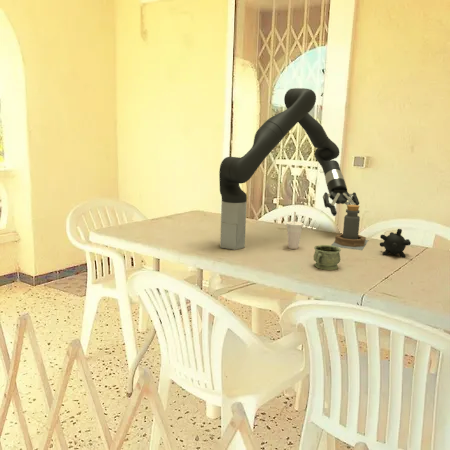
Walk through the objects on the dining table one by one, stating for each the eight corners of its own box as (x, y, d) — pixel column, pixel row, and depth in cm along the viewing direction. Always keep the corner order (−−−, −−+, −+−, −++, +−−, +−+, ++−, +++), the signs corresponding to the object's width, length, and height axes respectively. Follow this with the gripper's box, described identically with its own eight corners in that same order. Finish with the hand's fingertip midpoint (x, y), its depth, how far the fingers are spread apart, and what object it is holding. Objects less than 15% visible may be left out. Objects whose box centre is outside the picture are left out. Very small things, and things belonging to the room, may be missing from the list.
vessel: (324, 260, 163) (325, 242, 162) (347, 265, 158) (348, 247, 156) (304, 267, 155) (306, 248, 153) (328, 273, 149) (330, 254, 148)
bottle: (356, 241, 189) (359, 204, 186) (358, 245, 184) (362, 207, 181) (341, 240, 190) (344, 203, 187) (343, 244, 184) (346, 206, 181)
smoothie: (282, 248, 176) (284, 212, 173) (288, 245, 182) (290, 209, 179) (298, 251, 173) (301, 214, 170) (304, 247, 179) (306, 211, 176)
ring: (362, 248, 180) (362, 241, 179) (333, 244, 184) (333, 238, 183) (366, 241, 189) (366, 235, 189) (338, 238, 194) (339, 232, 193)
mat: (362, 251, 176) (362, 250, 176) (330, 247, 181) (330, 246, 181) (368, 241, 192) (368, 240, 192) (338, 237, 197) (338, 236, 197)
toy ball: (390, 241, 180) (420, 239, 171) (382, 264, 175) (413, 264, 166) (377, 224, 175) (407, 221, 166) (368, 247, 170) (399, 246, 161)
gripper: (322, 177, 195) (331, 209, 186) (354, 177, 198) (365, 209, 189) (316, 188, 201) (325, 220, 193) (348, 188, 204) (358, 219, 195)
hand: (345, 214), depth 191 cm, fingers open, 8 cm apart
